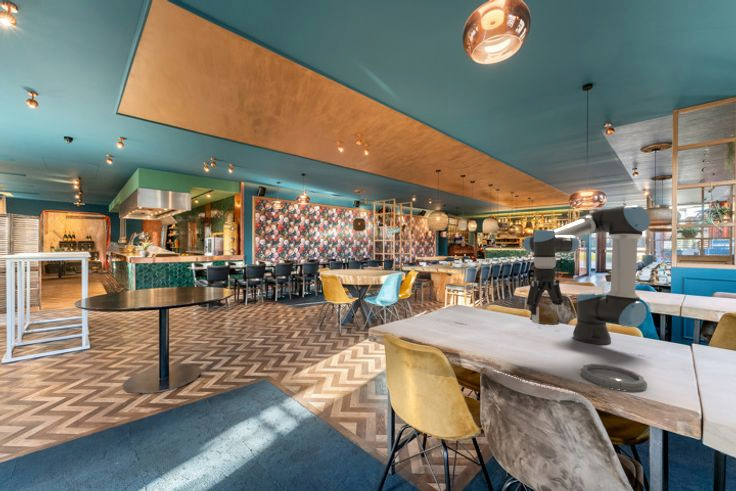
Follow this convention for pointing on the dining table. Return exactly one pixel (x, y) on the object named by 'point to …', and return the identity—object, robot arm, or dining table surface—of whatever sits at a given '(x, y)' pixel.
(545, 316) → the bread roll
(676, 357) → the dining table surface
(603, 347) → the dining table surface
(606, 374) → the slate plate
